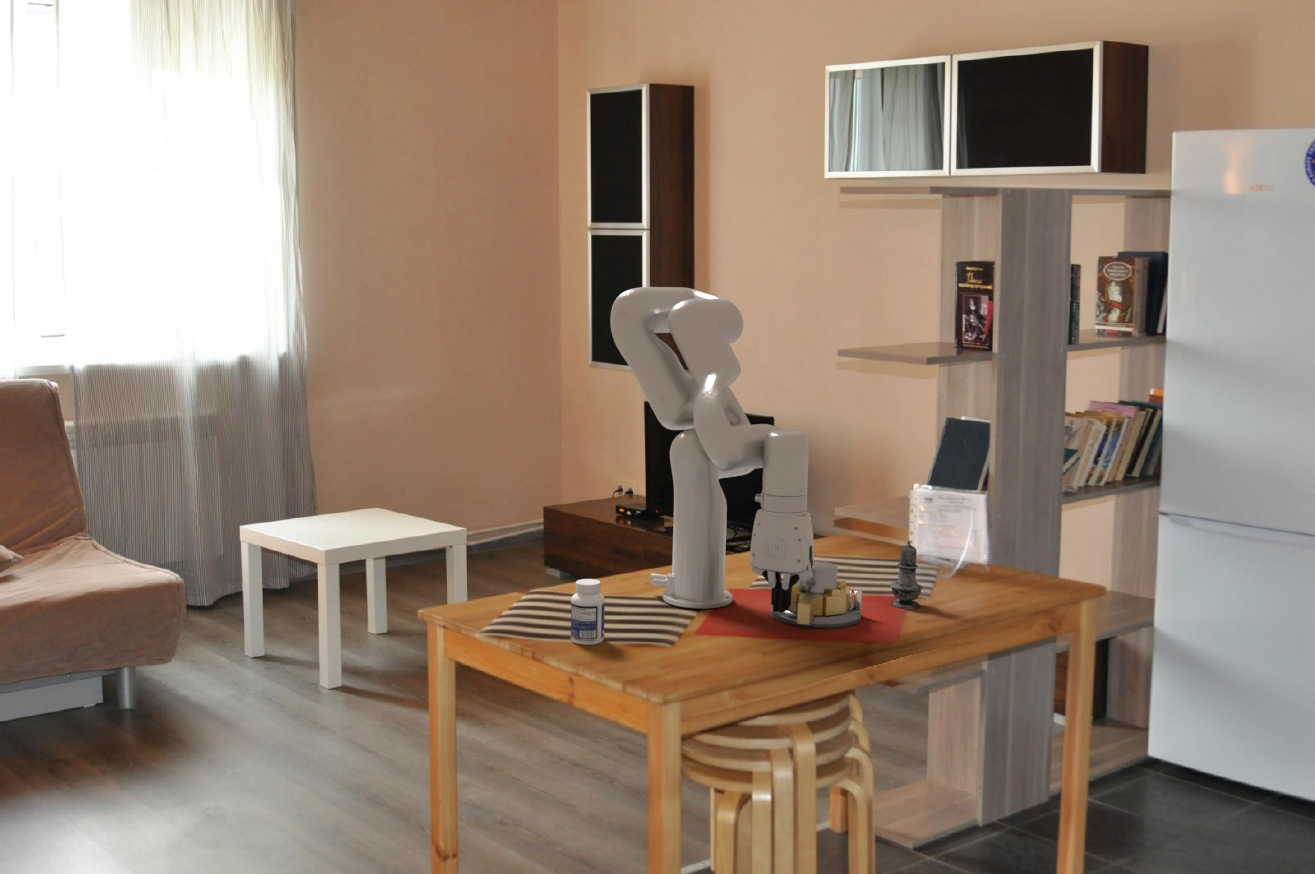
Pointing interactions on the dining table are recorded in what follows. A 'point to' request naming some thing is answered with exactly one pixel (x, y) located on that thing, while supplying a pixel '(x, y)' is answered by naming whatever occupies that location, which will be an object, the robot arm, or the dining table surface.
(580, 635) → the pill bottle
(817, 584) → the spindle base
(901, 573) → the salt shaker
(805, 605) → the ring nut
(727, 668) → the dining table surface
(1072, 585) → the dining table surface
